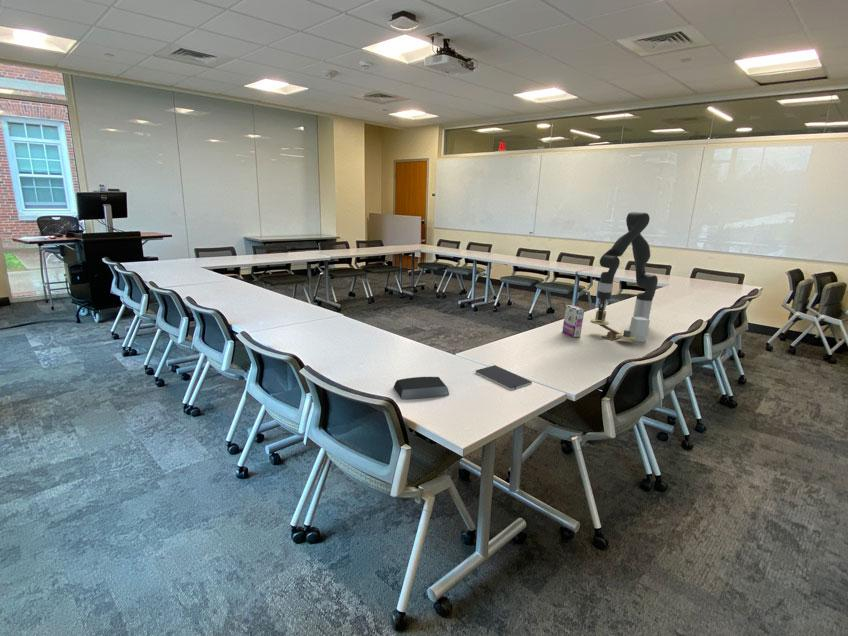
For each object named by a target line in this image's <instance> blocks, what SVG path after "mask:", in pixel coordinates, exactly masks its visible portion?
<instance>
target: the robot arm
mask: <svg viewBox="0 0 848 636" xmlns="http://www.w3.org/2000/svg"><path fill="white" fill-rule="evenodd" d="M625 221H626V227H627V230H628V231H627V232H626V233H624V234H623V235H622V236H620V237H619V238H618V239H617V240H616V241H615V242H614V243H613V245H612V246H611V247H610V248H609V249H608V250H607V251H606V252H605V253H603V254H602V256H601V257H600V259H599V265H600V267H603V268H606V269H608V270H607V271H602V272H601V274H600V279H599V283H598V288H597V293H596V298H597V299H600V300H599V302H598V309H597V310H598V320H602V316H603V311H606V308H607V304H608V301H609V300H611V299H612V292H613V287H614V286H613V285H614V278H615V275H616V273H617V271H618V269H619V267H620V263H621V262H620V258H619V257H622V256H623V255H624V253H625V252H626V250H627V249H628V247H630V245H631V247H632V255H633V259H634V268H635V283H636V285H637V287H638V288H642V289H645V291H644V292H639V293H637V294H636V298H635V304H634V309H633V315H632V317H644V318H646V319H648V320H650V316H651V310H652V305H653V299H654V297H655V294H656V290H657V286H658V282H659V281H658V280H659V279H658V276H657V275H656V274H650V273H647V272H646V265H647V263H648V262H649V260H650V258H651V249H650V245H649V243H648V241H647V240H646V239H645V237H644V236H643V235H642V232H643V231H644V230H645V229H646V228H647V227H648V225H649V224H650V221H651V219H650V215H649V213H647V212H644V211H643V212H642V211H630V212H628V214H627V215H626V220H625ZM600 310H602V311H600Z"/></svg>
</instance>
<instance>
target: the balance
mask: <svg viewBox="0 0 848 636" xmlns="http://www.w3.org/2000/svg"><path fill="white" fill-rule="evenodd" d="M590 322H591V323H592V324H594V325H598V326H599V327H602V328H604V329H606V330H607V333H606V335H602V336H601V338H602V339H605V340H609V341H614V340H618V339H619V340H620V339H622V340H625V341H626V340H627V341H628V340H629V341H633V340H635V339H636V336H634V335H631V331H629V330H630V329H629V330H627V329H625V330H623V332H618V331H617V330H614V329H613V328H611V327H610V326H608V325H609V324H610V322H609V321H607V320H605V321H599V320H595V318H591V319H590Z"/></svg>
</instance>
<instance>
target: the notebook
mask: <svg viewBox="0 0 848 636" xmlns="http://www.w3.org/2000/svg"><path fill="white" fill-rule="evenodd" d="M475 374H477V375H479V376H481V377H483V378H484V379H485V378H486V379H487V380H489V381H491V382H493V383H496V384H497V385H499V386H502V387H503V388H505V389H508V390H509V391H513V390H516V389H518V388H519V389H520V388H522V387H525V386H528V385H532V382H533V381H531V380H530V379H527V378H524V377H522V376H521V375H518V374H516V373H514V372H511V371H510V370H507V369H504V368H502V367H500V366H497V365H495V364H493V365H491V366H486V367H483V368H480V369H475Z"/></svg>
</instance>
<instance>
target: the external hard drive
mask: <svg viewBox="0 0 848 636" xmlns="http://www.w3.org/2000/svg"><path fill="white" fill-rule="evenodd" d="M393 388H394V390H395V392H396V394H397V395H398V396H399V398H400V400H404V401H405V400H407V401H409V400H421V399H423V400H424V399H433V398H441V397H446V396H447V397H448V396H450V392H449V388H448V386H447V385H446V383H444V382H443V381H442V379H441V378H440V376H416V377H407V378H401V379H397V380H396V381H395V383H394V386H393Z"/></svg>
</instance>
